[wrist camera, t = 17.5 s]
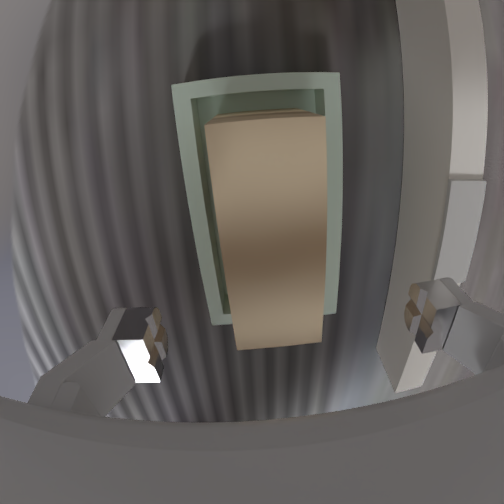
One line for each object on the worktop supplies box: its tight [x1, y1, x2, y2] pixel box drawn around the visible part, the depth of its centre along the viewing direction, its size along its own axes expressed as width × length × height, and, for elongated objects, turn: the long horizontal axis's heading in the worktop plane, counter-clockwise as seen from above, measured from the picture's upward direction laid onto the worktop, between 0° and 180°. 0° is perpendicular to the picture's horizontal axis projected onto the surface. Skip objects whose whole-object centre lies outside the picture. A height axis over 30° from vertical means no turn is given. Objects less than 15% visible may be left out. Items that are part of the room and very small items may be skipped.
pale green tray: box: [171, 72, 343, 325], centre depth 17 cm, size 14×8×3 cm, turn 5°
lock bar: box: [204, 108, 327, 350], centre depth 15 cm, size 10×4×6 cm, turn 5°
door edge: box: [376, 0, 488, 393], centre depth 16 cm, size 26×2×5 cm, turn 5°
